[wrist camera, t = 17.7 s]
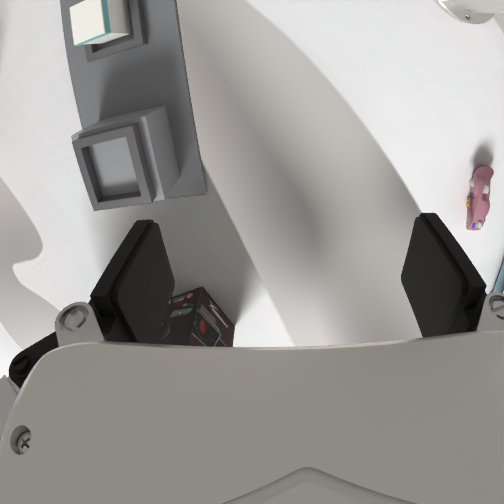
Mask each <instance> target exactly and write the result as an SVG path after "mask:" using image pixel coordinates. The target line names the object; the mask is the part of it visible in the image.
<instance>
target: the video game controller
mask: <svg viewBox="0 0 504 504" xmlns="http://www.w3.org/2000/svg"><path fill="white" fill-rule="evenodd" d="M493 173H494V171H493V169H492V168H491V167H489V166H481V167H479V168H478V169H477V170H476V172H474V176H473V178H472V179H470V180H469V185H470V191H471V193H473V195H474V198H473V197H469V198H468V201H467V202H466V206H467V222H466V227H467V229H468V230H479V229H481V228H482V226H483V223H484V222H485V217H486V215H487V213H488V211H489V207H490V202H489V195H490V179H491V177H492V176H493Z"/></svg>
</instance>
